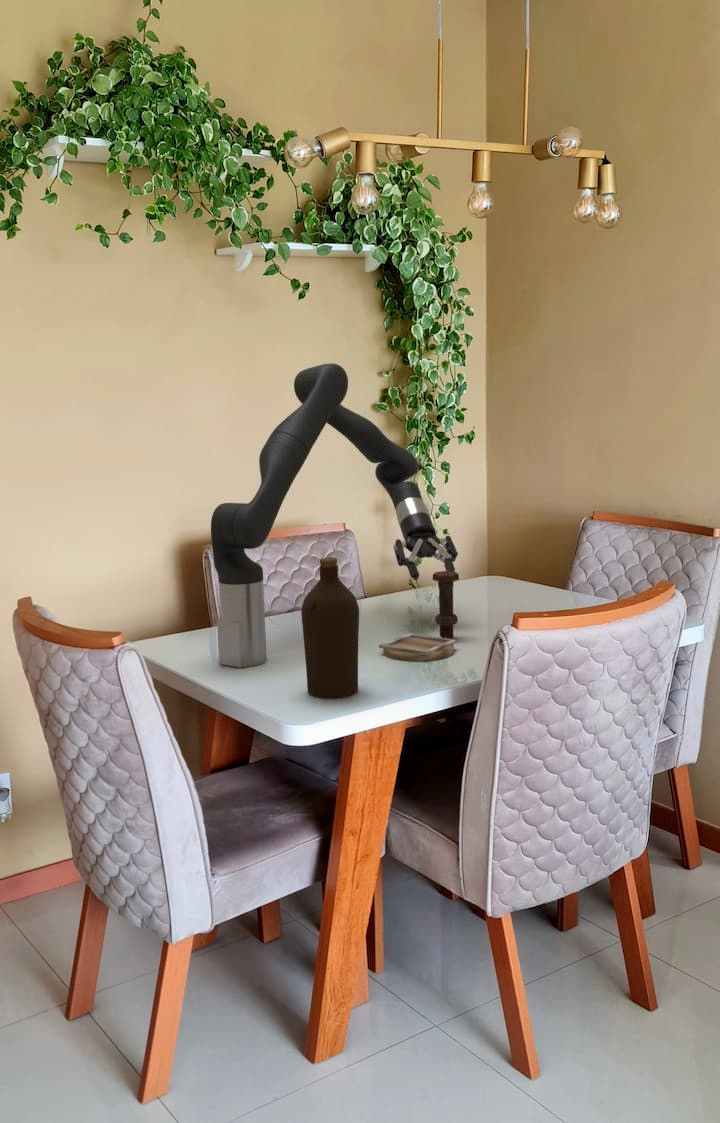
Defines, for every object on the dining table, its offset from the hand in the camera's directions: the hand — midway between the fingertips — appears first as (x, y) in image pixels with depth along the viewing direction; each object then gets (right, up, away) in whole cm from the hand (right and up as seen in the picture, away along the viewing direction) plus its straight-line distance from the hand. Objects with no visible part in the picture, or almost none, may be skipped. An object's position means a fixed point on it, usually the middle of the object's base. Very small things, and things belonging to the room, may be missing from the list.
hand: (434, 576), depth 226 cm
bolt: (+2, -14, -4) cm, 15 cm away
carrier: (-4, -16, -15) cm, 22 cm away
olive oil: (-22, -21, -41) cm, 51 cm away
